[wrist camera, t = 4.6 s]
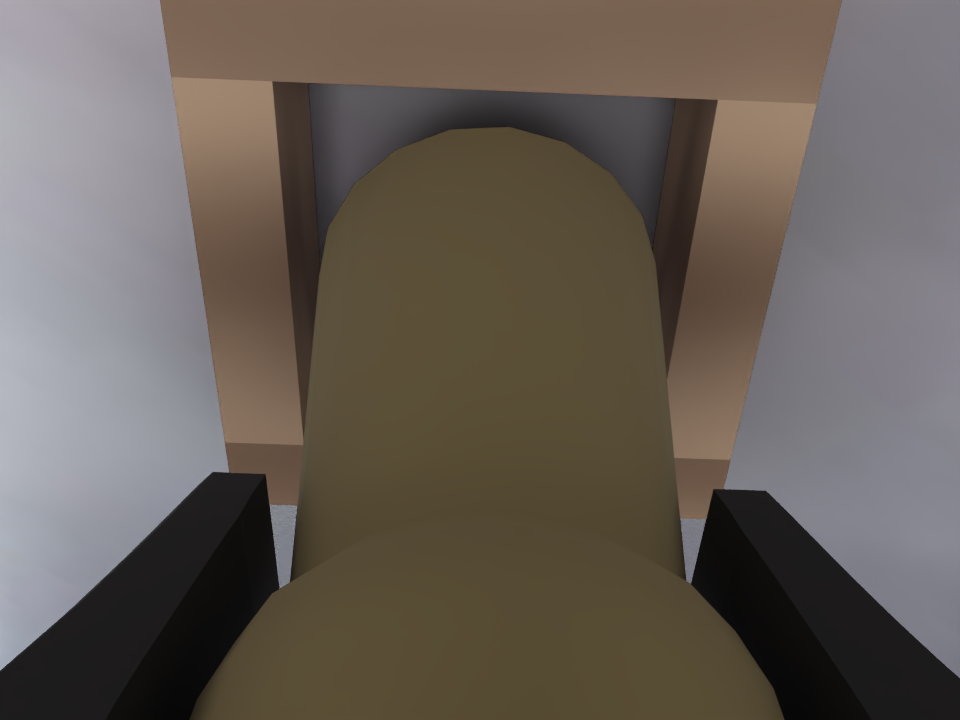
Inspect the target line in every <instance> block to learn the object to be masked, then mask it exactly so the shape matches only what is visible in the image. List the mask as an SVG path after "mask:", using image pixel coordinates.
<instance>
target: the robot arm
mask: <svg viewBox="0 0 960 720" xmlns="http://www.w3.org/2000/svg"><path fill="white" fill-rule="evenodd" d="M691 585H692V586H693V587H694V588H695V589H696V590H697V591H698V592H699V593H700V594H701V596H702V597H703V598H704V599H705V600H706V601H707V602H708V603H709V604H710V605H711V606H712V607H713V608H714V609H715V610H716V611H717V612H718V613H719V614H720V616H721V617H722V618H723V619H724V620H725V621H726V622H727V623H728V624H729V625H730V626H731V627H732V628H733V629H734V630H735V631H736V633H737V634H738V636H739V637H740V639H741V640H742V642H743V643H744V645H745V646H746V648H747V649H748V651H749V652H750V654H751V655H752V657H753V658H754V660H755V661H756V663H757V664H758V666H759V667H760V669H761V670H762V672H763V673H764V675H765V676H766V678H767V679H768V681H769V682H770V684H771V686H772V687H773V689H774V691H775V694H776V697H777V700H778V703H779V706H780V708H781V711H782V714H783V717H784V720H960V678H959V677H958V676H956V675H955V674H954V673H953V672H952V671H951V670H950V669H948V668H947V667H946V666H945V665H944V664H943V663H942V662H941V661H940V660H939V659H937V658H936V657H935V656H934V655H933V654H932V653H931V652H930V651H929V650H928V649H927V648H925V647H924V646H923V645H922V644H921V643H920V642H919V641H918V640H917V639H916V638H915V637H914V636H912V635H911V634H910V633H909V632H908V631H907V630H906V629H905V628H904V627H903V626H902V625H901V624H900V623H899V622H898V621H897V620H895V619H894V618H893V617H892V616H891V615H890V614H889V613H888V612H887V611H886V610H885V609H884V608H883V607H882V606H881V605H880V604H879V603H878V602H877V601H876V600H875V599H874V598H873V597H872V596H871V595H870V594H869V593H868V592H867V591H866V590H865V589H864V588H863V587H862V586H860V585H859V584H858V583H857V582H856V581H855V580H854V579H853V578H852V577H851V576H850V575H849V574H848V573H847V572H846V571H845V570H844V569H843V568H842V567H841V566H840V565H839V564H838V563H837V562H836V561H835V560H834V559H833V558H832V557H831V556H830V555H829V554H828V553H827V552H826V551H825V550H824V549H823V547H822V546H821V545H820V544H819V543H818V542H817V541H816V540H815V539H814V538H813V537H812V536H811V535H810V534H809V533H808V532H807V531H806V530H805V529H804V528H803V527H802V526H801V525H800V524H799V523H798V522H797V521H796V520H795V519H794V518H793V517H792V516H791V515H790V514H789V513H788V512H787V511H786V510H785V509H784V508H783V507H782V506H781V505H780V504H779V503H778V502H777V501H776V500H775V499H774V498H773V497H772V496H771V495H770V494H769V493H767V492H766V491H755V490H725V489H713V493H712V497H711V502H710V506H709V510H708V514H707V519H706V523H705V527H704V531H703V536H702V540H701V544H700V548H699V553H698V557H697V561H696V565H695V570H694V574H693V578H692V582H691ZM277 590H279V581H278V573H277V565H276V556H275V548H274V539H273V531H272V522H271V514H270V505H269V497H268V489H267V480H266V474H252V473H222V472H213V473H211V474H210V475H209V476H208V477H207V478H206V479H205V480H204V481H203V482H201V483H200V484H199V485H198V486H197V487H196V488H195V489H194V490H193V491H192V492H191V493H190V494H189V495H188V496H187V497H186V498H185V499H184V500H183V501H182V502H181V503H180V504H179V505H178V506H177V507H176V508H175V509H174V510H173V511H172V512H171V513H170V514H169V515H168V516H167V517H166V518H165V519H164V520H163V521H162V522H161V523H160V524H159V525H158V526H157V527H156V528H155V529H154V530H153V531H152V532H151V533H150V534H149V535H148V536H147V537H146V538H145V539H144V540H143V541H142V542H141V543H140V544H139V545H138V546H137V547H136V548H135V549H134V550H133V551H132V552H131V553H130V554H129V555H128V556H127V557H126V558H125V559H124V560H123V561H121V562H120V563H119V564H118V565H117V566H116V567H115V568H114V569H113V570H112V571H111V572H110V573H109V574H108V575H107V576H106V577H105V578H103V579H102V580H101V581H100V582H99V583H98V584H97V585H96V586H95V587H94V588H93V589H92V590H91V591H90V592H89V593H88V594H87V595H85V596H84V597H83V598H82V599H81V600H80V601H79V602H78V603H77V604H76V605H75V606H74V607H73V608H72V609H70V610H69V611H68V612H67V613H66V614H65V615H64V616H63V617H62V618H61V619H59V620H58V621H57V622H56V623H55V624H54V625H52V626H51V627H50V628H49V629H48V630H47V631H46V632H44V633H43V634H42V635H41V636H40V637H39V638H37V639H36V640H35V641H34V642H33V643H32V644H31V645H29V646H28V647H27V648H26V649H25V650H24V651H22V652H21V653H20V654H19V655H18V656H17V657H16V658H14V659H13V660H12V661H11V662H10V663H9V664H7V665H6V666H5V667H4V668H3V669H2V670H1V671H0V720H190V717H191V714H192V711H193V709H194V706H195V703H196V700H197V699H198V697H199V696H200V694H201V693H202V691H203V689H204V688H205V686H206V685H207V683H208V682H209V680H210V679H211V677H212V676H213V674H214V673H215V671H216V670H217V668H218V667H219V665H220V664H221V662H222V661H223V659H224V657H225V656H226V654H227V653H228V651H229V650H230V648H231V647H232V645H233V644H234V642H235V641H236V640H237V638H238V637H239V636H240V635H241V633H242V632H243V631H244V629H245V628H246V627H247V625H248V624H249V623H250V622H251V620H252V619H253V618H254V616H255V615H256V614H257V612H258V611H259V610H260V609H261V607H262V606H263V605H264V603H265V602H266V601H267V599H268V598H269V597H270V596H271V594H272V593H274V592H276V591H277Z"/></svg>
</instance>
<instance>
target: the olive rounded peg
mask: <svg viewBox="0 0 960 720" xmlns="http://www.w3.org/2000/svg"><path fill="white" fill-rule="evenodd" d="M190 720H784V717H783V714H782V711H781V708H780V706H779V703H778V700H777V697H776V694H775V691H774V689H773V687H772V686H771V684H770V682H769V681H768V679H767V678H766V676H765V675H764V673H763V672H762V670H761V669H760V667H759V666H758V664H757V663H756V661H755V660H754V658H753V657H752V655H751V654H750V652H749V651H748V649H747V648H746V646H745V645H744V643H743V642H742V640H741V639H740V637H739V636H738V634H737V633H736V631H735V630H734V629H733V628H732V627H731V626H730V625H729V624H728V623H727V622H726V621H725V620H724V619H723V618H722V617H721V616H720V614H719V613H718V612H717V611H716V610H715V609H714V608H713V607H712V606H711V605H710V604H709V603H708V602H707V601H706V600H705V599H704V598H703V597H702V596H701V594H700V593H699V592H698V591H697V590H696V589H695V588H694V587H693V586H692V585H691V584H690V583H688V582H687V581H686V574H685V563H684V553H683V542H682V532H681V522H680V511H679V501H678V490H677V480H676V470H675V459H674V449H673V438H672V428H671V417H670V407H669V397H668V386H667V376H666V365H665V355H664V345H663V334H662V324H661V313H660V303H659V293H658V282H657V272H656V262H655V259H654V255H653V252H652V248H651V245H650V241H649V238H648V234H647V230H646V227H645V223H644V220H643V216H642V215H641V213H640V212H639V210H638V209H637V208H636V206H635V205H634V204H633V202H632V201H631V200H630V198H629V197H628V195H627V194H626V193H625V191H624V190H623V189H622V187H621V186H620V185H619V183H618V182H617V180H616V179H615V178H614V176H613V175H612V174H611V173H610V172H608V171H607V170H605V169H604V168H602V167H601V166H599V165H598V164H596V163H595V162H594V161H592V160H591V159H589V158H588V157H586V156H585V155H583V154H582V153H580V152H579V151H577V150H576V149H574V148H573V147H571V146H570V145H568V144H567V143H565V142H562V141H558V140H555V139H551V138H547V137H544V136H540V135H537V134H533V133H530V132H526V131H522V130H519V129H515V128H512V127H496V128H472V129H450V130H448V131H445V132H442V133H440V134H437V135H434V136H432V137H429V138H426V139H423V140H421V141H418V142H415V143H413V144H410V145H407V146H405V147H402V148H399V149H397V150H395V151H394V152H393V153H392V154H391V155H389V156H388V157H387V158H386V159H384V160H383V161H382V162H381V163H379V164H378V165H377V166H376V167H375V168H373V169H372V170H371V171H370V172H368V173H367V174H366V175H365V176H364V177H362V178H361V179H360V180H359V181H357V182H356V183H355V184H354V185H353V187H352V189H351V190H350V192H349V194H348V195H347V197H346V199H345V200H344V202H343V204H342V205H341V207H340V209H339V210H338V212H337V214H336V215H335V217H334V219H333V220H332V222H331V224H330V225H329V227H328V231H327V236H326V241H325V247H324V252H323V257H322V263H321V268H320V273H319V282H318V293H317V303H316V314H315V324H314V335H313V346H312V356H311V367H310V377H309V388H308V398H307V409H306V420H305V430H304V441H303V451H302V462H301V472H300V483H299V494H298V504H297V515H296V525H295V536H294V546H293V557H292V568H291V578H290V583H289V584H287V585H285V586H284V587H282V588H280V589H279V590H277V591H276V592H274V593H272V594H271V596H270V597H269V598H268V599H267V601H266V602H265V603H264V605H263V606H262V607H261V609H260V610H259V611H258V612H257V614H256V615H255V616H254V618H253V619H252V620H251V622H250V623H249V624H248V625H247V627H246V628H245V629H244V631H243V632H242V633H241V635H240V636H239V637H238V638H237V640H236V641H235V642H234V644H233V645H232V647H231V648H230V650H229V651H228V653H227V654H226V656H225V657H224V659H223V661H222V662H221V664H220V665H219V667H218V668H217V670H216V671H215V673H214V674H213V676H212V677H211V679H210V680H209V682H208V683H207V685H206V686H205V688H204V689H203V691H202V693H201V694H200V696H199V697H198V699H197V700H196V703H195V706H194V709H193V711H192V714H191V717H190Z"/></svg>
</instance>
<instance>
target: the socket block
mask: <svg viewBox="0 0 960 720" xmlns="http://www.w3.org/2000/svg"><path fill="white" fill-rule="evenodd" d="M841 2H842V0H160V3H161V10H162V17H163V23H164V30H165V37H166V44H167V51H168V57H169V64H170V71H171V78H172V85H173V92H174V98H175V105H176V112H177V119H178V126H179V132H180V139H181V146H182V153H183V160H184V167H185V173H186V180H187V187H188V194H189V201H190V207H191V214H192V221H193V228H194V235H195V241H196V248H197V255H198V262H199V269H200V276H201V282H202V289H203V296H204V303H205V310H206V316H207V323H208V330H209V337H210V344H211V351H212V357H213V364H214V371H215V378H216V385H217V391H218V398H219V405H220V412H221V419H222V425H223V432H224V439H225V446H226V453H227V460H228V466H229V473H252V474H266V480H267V489H268V497H269V505H297V504H298V494H299V483H300V472H301V462H302V451H303V441H304V430H305V420H306V409H307V398H308V388H309V377H310V367H311V356H312V346H313V335H314V324H315V314H316V303H317V293H318V282H319V273H320V257H319V242H318V227H317V212H316V196H315V181H314V166H313V150H312V135H311V120H310V104H309V89H308V83H324V84H348V85H373V86H397V87H421V88H445V89H469V90H493V91H517V92H542V93H566V94H590V95H614V96H638V97H662V98H676V103H675V109H674V116H673V122H672V128H671V135H670V141H669V147H668V154H667V160H666V167H665V173H664V179H663V186H662V192H661V199H660V205H659V211H658V218H657V224H656V230H655V237H654V243H653V250H652V252H653V255H654V259H655V262H656V272H657V282H658V293H659V303H660V313H661V324H662V334H663V345H664V355H665V365H666V376H667V386H668V397H669V407H670V417H671V428H672V438H673V449H674V459H675V470H676V480H677V490H678V501H679V511H680V518H690V519H707V514H708V510H709V506H710V502H711V497H712V493H713V489H724V484H725V480H726V476H727V472H728V468H729V464H730V460H731V456H732V451H733V447H734V443H735V439H736V435H737V431H738V427H739V423H740V418H741V414H742V410H743V406H744V402H745V398H746V394H747V390H748V385H749V381H750V377H751V373H752V369H753V365H754V361H755V357H756V353H757V348H758V344H759V340H760V336H761V332H762V328H763V324H764V320H765V315H766V311H767V307H768V303H769V299H770V295H771V291H772V287H773V282H774V278H775V274H776V270H777V266H778V262H779V258H780V254H781V250H782V245H783V241H784V237H785V233H786V229H787V225H788V221H789V217H790V212H791V208H792V204H793V200H794V196H795V192H796V188H797V184H798V179H799V175H800V171H801V167H802V163H803V159H804V155H805V151H806V146H807V142H808V138H809V134H810V130H811V126H812V122H813V118H814V114H815V109H816V105H817V101H818V97H819V93H820V89H821V85H822V81H823V76H824V72H825V68H826V64H827V60H828V56H829V52H830V48H831V43H832V39H833V35H834V31H835V27H836V23H837V19H838V15H839V11H840V6H841Z"/></svg>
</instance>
